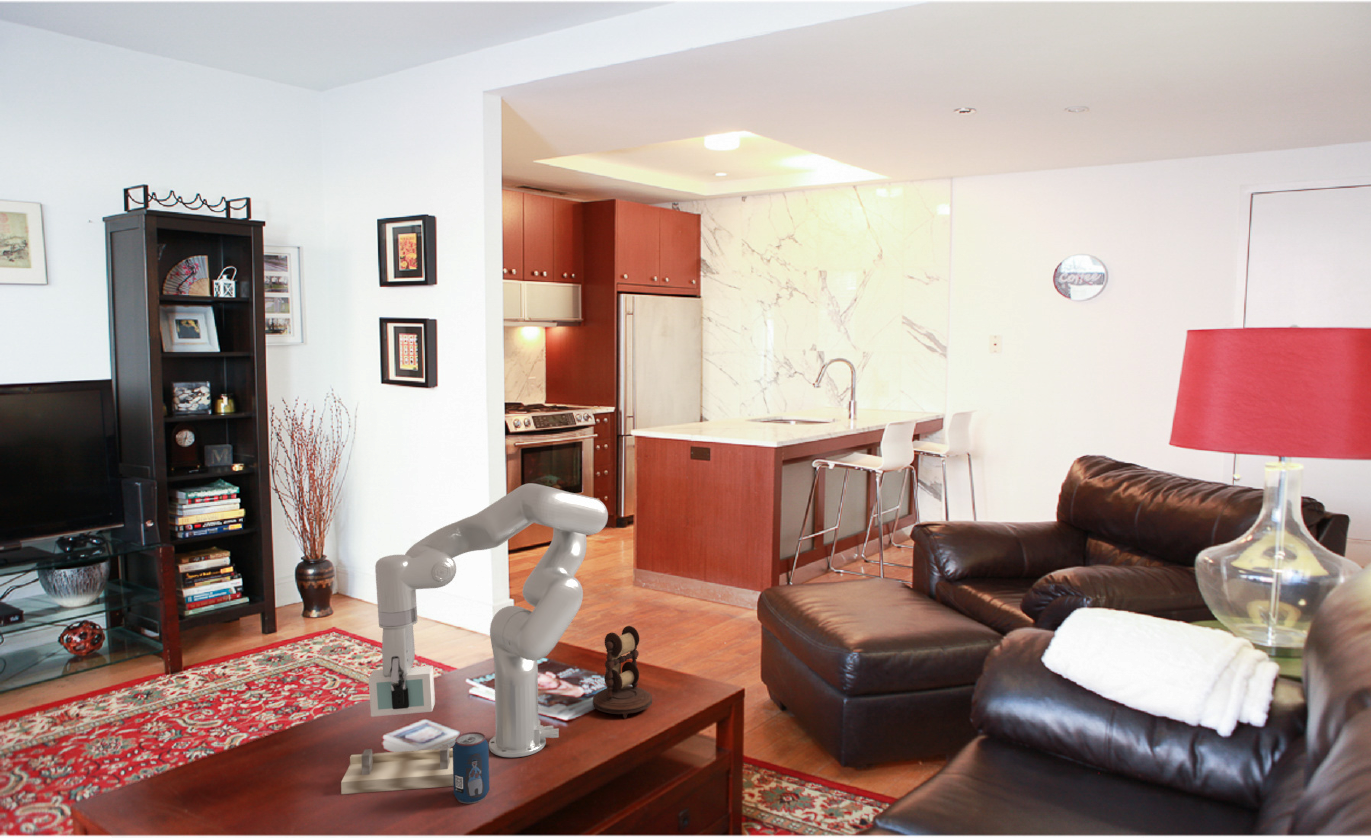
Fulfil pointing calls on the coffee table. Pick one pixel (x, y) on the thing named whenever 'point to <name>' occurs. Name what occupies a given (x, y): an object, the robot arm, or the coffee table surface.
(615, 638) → the thread spool stand
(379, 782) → the ledge
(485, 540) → the robot arm
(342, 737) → the coffee table surface
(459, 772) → the soda can
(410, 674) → the white block
